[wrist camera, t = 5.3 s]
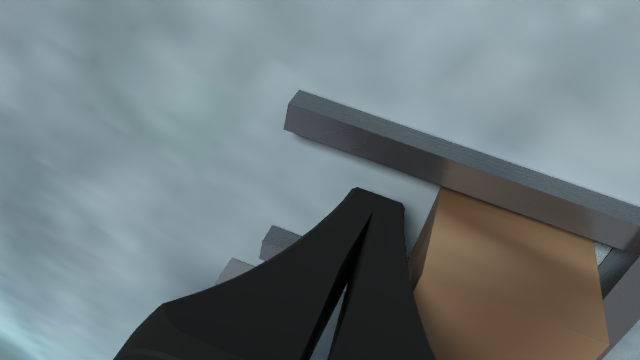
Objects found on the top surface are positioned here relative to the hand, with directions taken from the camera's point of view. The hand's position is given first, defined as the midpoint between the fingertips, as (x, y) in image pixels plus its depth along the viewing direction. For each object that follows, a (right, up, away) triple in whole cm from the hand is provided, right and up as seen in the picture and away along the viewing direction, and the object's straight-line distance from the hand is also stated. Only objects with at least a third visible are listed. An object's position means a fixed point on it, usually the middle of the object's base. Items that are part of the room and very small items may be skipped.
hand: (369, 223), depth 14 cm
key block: (+4, -1, +1) cm, 4 cm away
